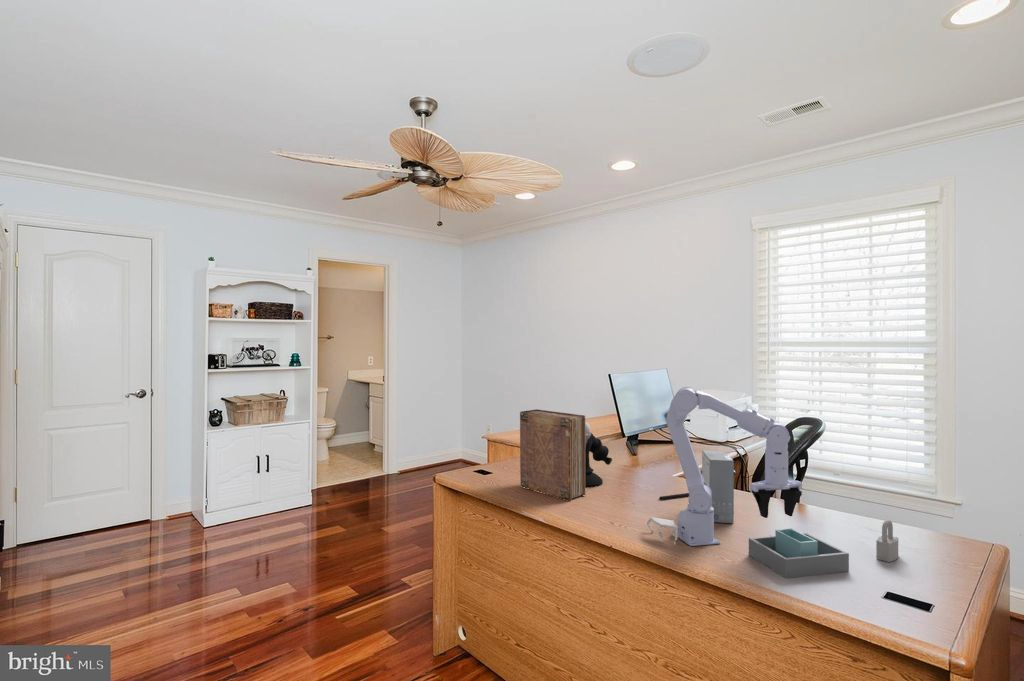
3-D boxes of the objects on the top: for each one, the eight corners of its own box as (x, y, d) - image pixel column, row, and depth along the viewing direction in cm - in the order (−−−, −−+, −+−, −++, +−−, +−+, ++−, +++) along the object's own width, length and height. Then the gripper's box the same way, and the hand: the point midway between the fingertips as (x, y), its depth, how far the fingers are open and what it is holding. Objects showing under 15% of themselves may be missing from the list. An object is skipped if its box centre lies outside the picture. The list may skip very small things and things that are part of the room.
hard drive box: (734, 524, 163) (734, 461, 163) (708, 522, 164) (708, 460, 164) (724, 508, 178) (724, 450, 178) (701, 507, 179) (700, 449, 179)
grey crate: (785, 578, 126) (785, 559, 126) (748, 554, 140) (748, 538, 140) (848, 571, 130) (848, 553, 130) (806, 549, 143) (806, 532, 143)
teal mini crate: (800, 566, 130) (800, 542, 130) (775, 552, 139) (775, 529, 139) (817, 564, 131) (817, 541, 131) (791, 550, 140) (791, 528, 140)
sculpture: (557, 481, 212) (557, 420, 212) (595, 472, 227) (595, 415, 227) (585, 489, 201) (585, 425, 201) (623, 479, 216) (623, 419, 216)
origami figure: (689, 538, 151) (689, 521, 151) (676, 547, 145) (675, 529, 145) (651, 528, 160) (651, 512, 160) (637, 536, 154) (637, 519, 154)
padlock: (883, 551, 142) (883, 515, 142) (901, 556, 138) (901, 519, 138) (873, 558, 137) (873, 520, 137) (891, 563, 134) (891, 525, 134)
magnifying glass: (649, 496, 194) (649, 491, 194) (715, 488, 205) (715, 482, 205) (672, 507, 182) (672, 501, 182) (741, 497, 192) (741, 492, 192)
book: (586, 496, 192) (585, 415, 192) (570, 501, 186) (570, 418, 186) (536, 482, 211) (535, 409, 211) (520, 487, 204) (519, 411, 204)
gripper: (762, 471, 138) (762, 522, 138) (810, 469, 140) (810, 519, 140) (745, 465, 145) (745, 513, 145) (791, 463, 147) (791, 510, 147)
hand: (776, 515), depth 143 cm, fingers open, 7 cm apart
